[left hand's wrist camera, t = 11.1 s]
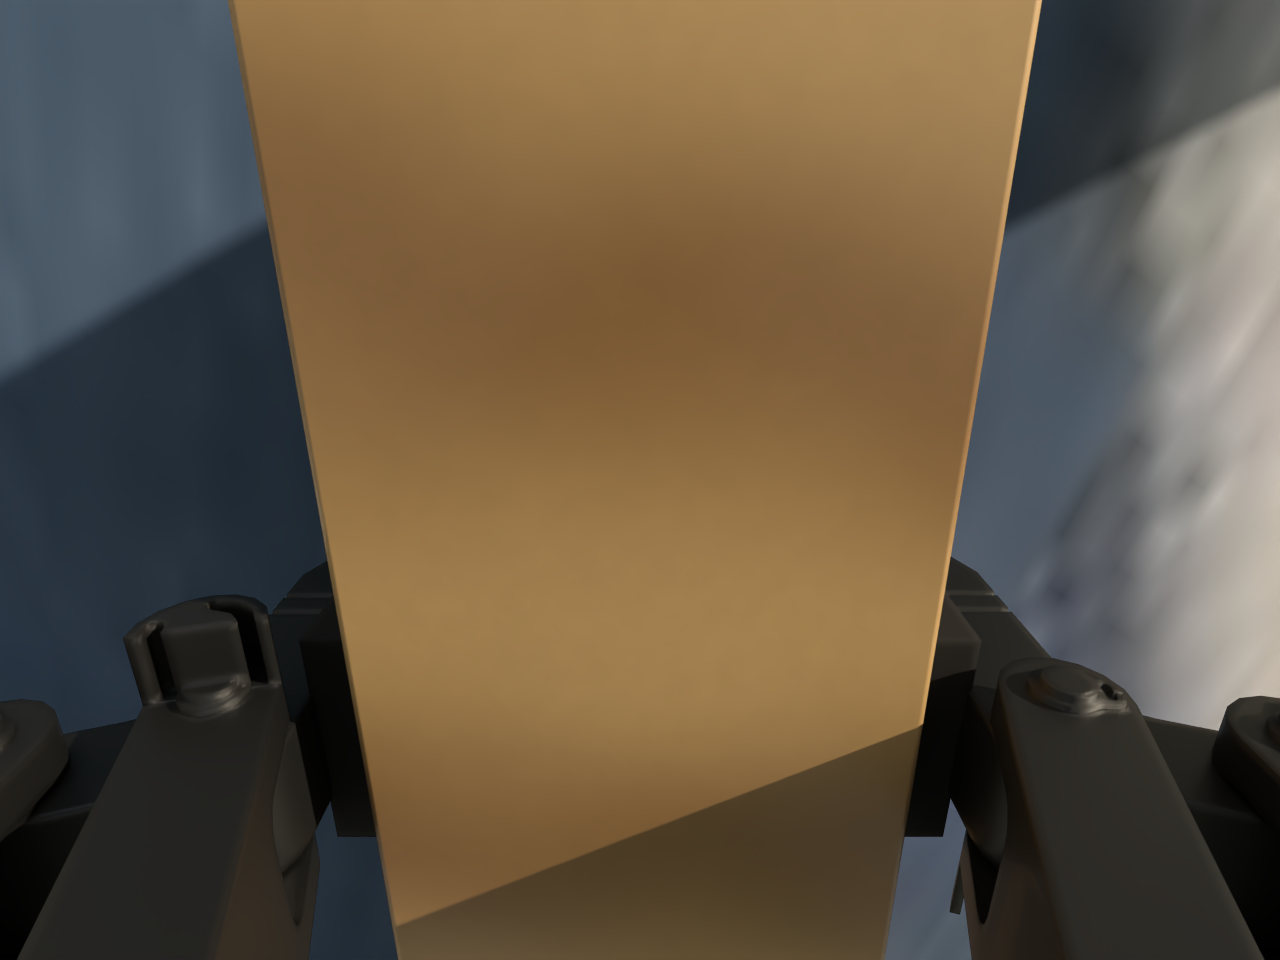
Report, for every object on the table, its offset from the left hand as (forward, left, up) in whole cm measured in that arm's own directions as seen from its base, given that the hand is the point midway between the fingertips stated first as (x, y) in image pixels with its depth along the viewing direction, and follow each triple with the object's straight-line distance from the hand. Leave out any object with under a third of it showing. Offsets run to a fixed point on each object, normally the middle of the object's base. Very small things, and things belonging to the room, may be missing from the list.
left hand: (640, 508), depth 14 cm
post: (+23, +5, -1) cm, 24 cm away
